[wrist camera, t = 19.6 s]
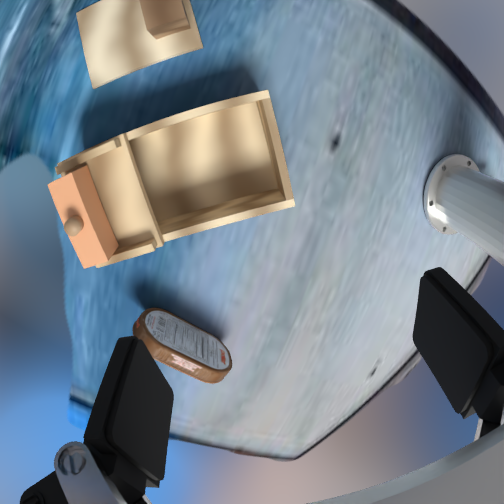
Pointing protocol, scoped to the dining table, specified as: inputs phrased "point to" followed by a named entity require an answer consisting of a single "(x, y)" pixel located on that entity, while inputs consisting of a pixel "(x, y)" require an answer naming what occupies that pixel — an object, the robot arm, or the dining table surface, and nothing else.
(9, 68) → the dining table surface
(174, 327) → the tin
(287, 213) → the dining table surface
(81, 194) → the peach boxy piece
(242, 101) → the toolbox
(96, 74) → the lid
